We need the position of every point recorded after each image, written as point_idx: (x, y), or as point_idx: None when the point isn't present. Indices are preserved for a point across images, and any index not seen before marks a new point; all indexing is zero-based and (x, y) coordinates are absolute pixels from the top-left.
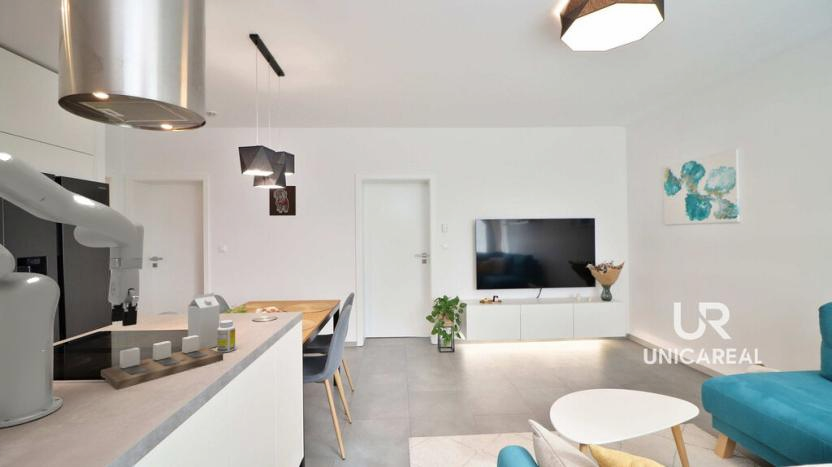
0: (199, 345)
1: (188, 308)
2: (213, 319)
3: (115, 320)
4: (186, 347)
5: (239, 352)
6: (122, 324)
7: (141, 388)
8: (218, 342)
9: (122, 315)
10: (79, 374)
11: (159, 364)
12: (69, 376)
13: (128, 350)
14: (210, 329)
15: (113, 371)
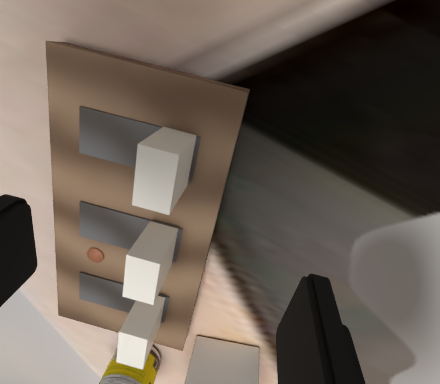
0: (193, 351)
1: None
2: None
3: (296, 294)
4: (133, 307)
5: (95, 347)
6: (8, 200)
7: (15, 84)
8: (128, 366)
9: (283, 363)
10: (372, 70)
11: (116, 206)
12: (392, 37)
13: (147, 172)
14: None
15: (181, 102)
